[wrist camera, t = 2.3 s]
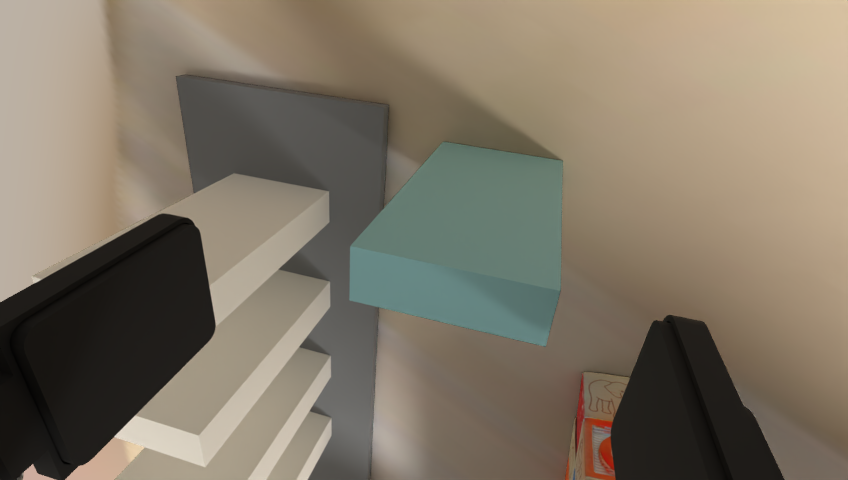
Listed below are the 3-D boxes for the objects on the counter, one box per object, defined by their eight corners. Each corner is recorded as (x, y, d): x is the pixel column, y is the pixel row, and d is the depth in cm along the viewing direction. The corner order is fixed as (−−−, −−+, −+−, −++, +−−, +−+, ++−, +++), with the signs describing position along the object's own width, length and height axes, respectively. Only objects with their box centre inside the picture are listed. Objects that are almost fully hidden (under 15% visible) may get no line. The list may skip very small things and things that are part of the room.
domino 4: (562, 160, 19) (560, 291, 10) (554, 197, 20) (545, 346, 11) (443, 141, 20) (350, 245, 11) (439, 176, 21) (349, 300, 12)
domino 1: (329, 191, 22) (174, 313, 13) (329, 222, 22) (182, 357, 14) (234, 173, 23) (31, 276, 14) (237, 203, 23) (46, 319, 15)
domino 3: (330, 355, 26) (217, 525, 18) (330, 376, 27) (222, 549, 19) (251, 334, 27) (107, 486, 19) (254, 355, 28) (116, 510, 20)
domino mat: (388, 104, 20) (384, 107, 19) (367, 525, 34) (364, 533, 33) (185, 74, 22) (175, 76, 21) (245, 484, 36) (240, 491, 35)
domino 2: (329, 281, 24) (198, 435, 15) (330, 306, 25) (205, 467, 16) (243, 261, 25) (75, 396, 16) (246, 286, 26) (86, 427, 17)
